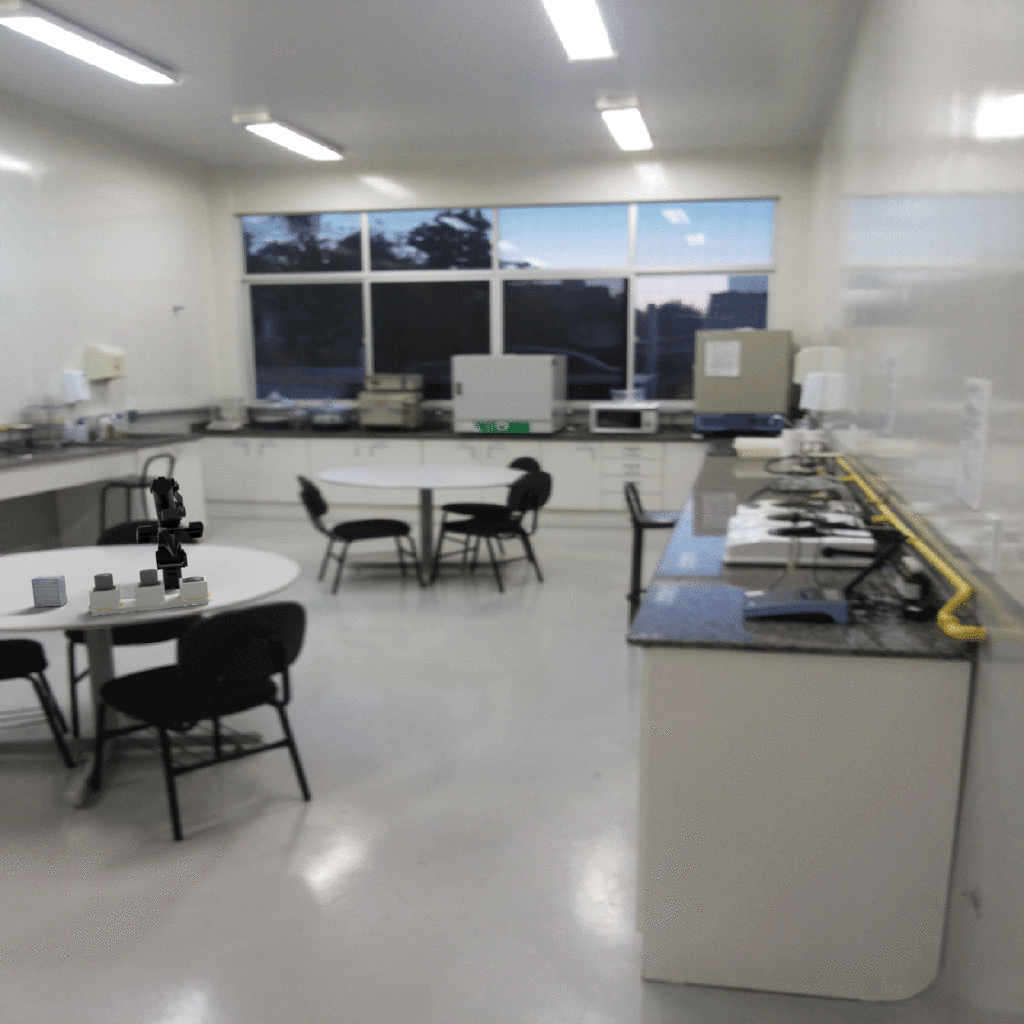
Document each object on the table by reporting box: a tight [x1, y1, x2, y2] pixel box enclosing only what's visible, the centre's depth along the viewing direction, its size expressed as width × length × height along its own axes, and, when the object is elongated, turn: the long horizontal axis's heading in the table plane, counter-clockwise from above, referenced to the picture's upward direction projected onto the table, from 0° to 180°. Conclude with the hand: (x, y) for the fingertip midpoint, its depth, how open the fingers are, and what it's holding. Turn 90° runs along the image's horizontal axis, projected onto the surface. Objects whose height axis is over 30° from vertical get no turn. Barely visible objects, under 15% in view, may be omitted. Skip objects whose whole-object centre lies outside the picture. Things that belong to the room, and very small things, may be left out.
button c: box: [93, 572, 114, 591], centre depth 254 cm, size 5×5×4 cm
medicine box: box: [30, 574, 69, 608], centre depth 262 cm, size 8×4×9 cm, turn 92°
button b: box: [138, 568, 159, 586], centre depth 258 cm, size 5×5×4 cm
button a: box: [184, 576, 202, 583], centre depth 263 cm, size 5×5×4 cm
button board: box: [88, 575, 211, 617], centre depth 259 cm, size 10×33×6 cm, turn 111°
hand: (174, 555), depth 263 cm, fingers closed
